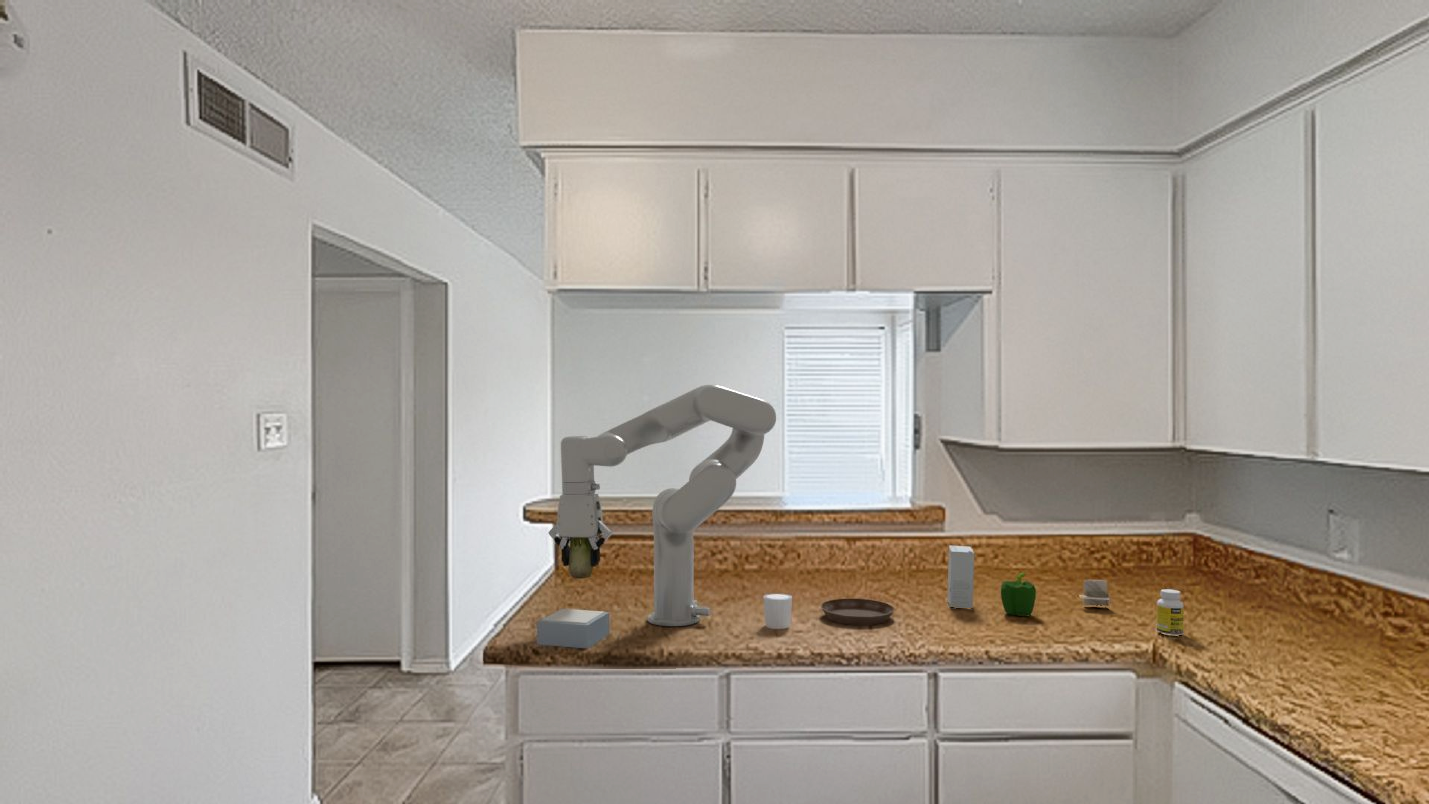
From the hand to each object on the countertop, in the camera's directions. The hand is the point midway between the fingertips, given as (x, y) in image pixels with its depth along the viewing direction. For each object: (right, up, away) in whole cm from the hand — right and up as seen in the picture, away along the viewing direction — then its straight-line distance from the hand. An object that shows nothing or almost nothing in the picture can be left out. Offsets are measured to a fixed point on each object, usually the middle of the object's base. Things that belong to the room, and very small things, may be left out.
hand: (581, 564), depth 214 cm
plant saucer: (+66, -15, +8) cm, 68 cm away
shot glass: (+46, -15, 0) cm, 48 cm away
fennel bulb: (0, -3, 0) cm, 3 cm away
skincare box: (+95, -14, +21) cm, 98 cm away
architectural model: (+128, -15, +18) cm, 130 cm away
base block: (0, -14, -12) cm, 19 cm away
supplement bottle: (+134, -15, -7) cm, 135 cm away
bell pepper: (+106, -15, +11) cm, 108 cm away
